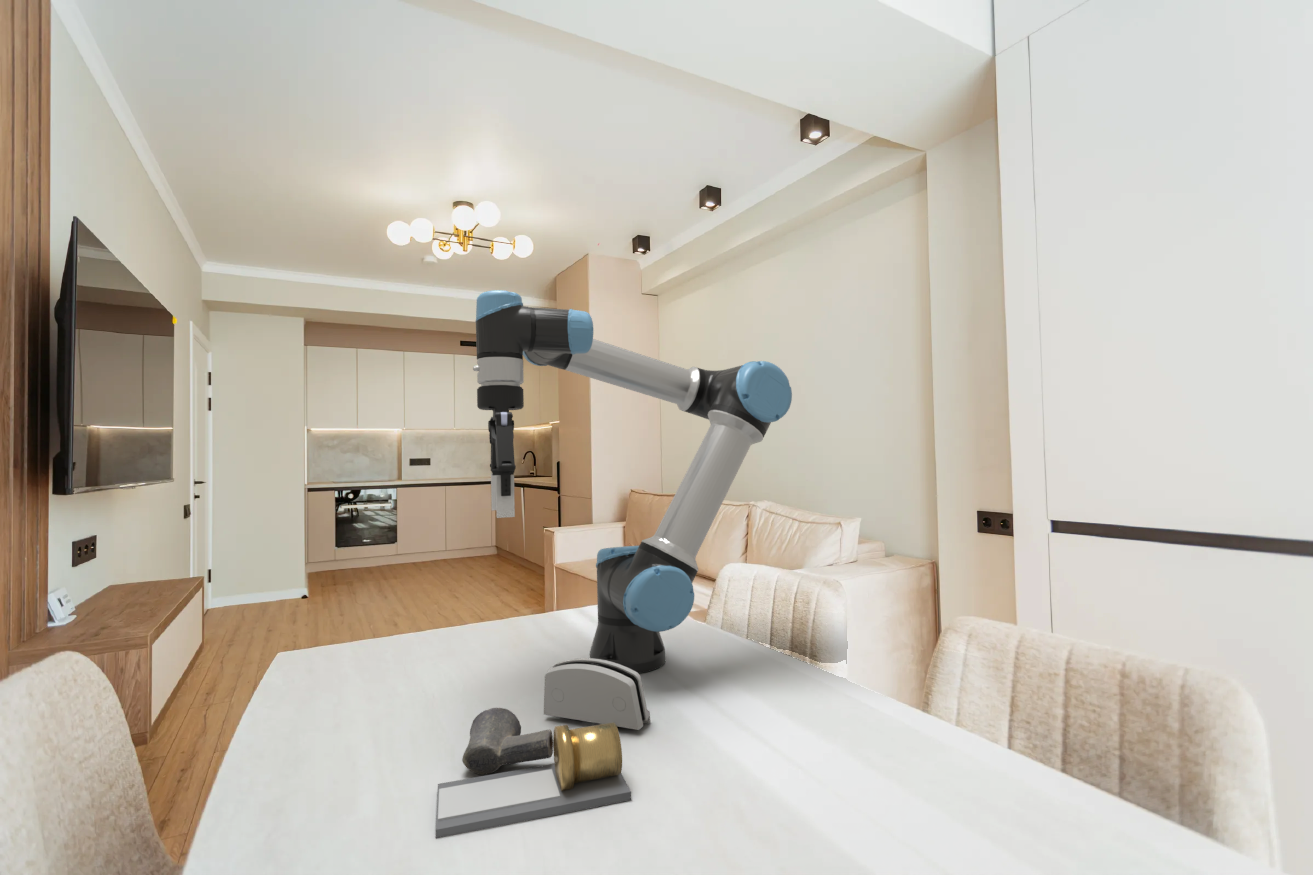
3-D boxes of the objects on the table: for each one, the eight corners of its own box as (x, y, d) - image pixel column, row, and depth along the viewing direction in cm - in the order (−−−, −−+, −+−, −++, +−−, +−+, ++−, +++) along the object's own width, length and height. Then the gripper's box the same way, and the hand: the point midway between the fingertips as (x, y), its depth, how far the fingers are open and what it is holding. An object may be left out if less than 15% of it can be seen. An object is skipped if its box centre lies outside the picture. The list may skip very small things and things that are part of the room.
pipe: (544, 735, 80) (556, 700, 87) (446, 745, 80) (467, 709, 88) (551, 778, 80) (562, 740, 88) (454, 788, 81) (474, 749, 89)
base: (611, 760, 84) (611, 751, 84) (631, 799, 75) (631, 789, 75) (437, 791, 77) (437, 782, 77) (435, 838, 68) (435, 827, 68)
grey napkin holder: (653, 723, 96) (648, 660, 95) (640, 739, 91) (636, 674, 91) (558, 708, 102) (553, 649, 101) (542, 723, 98) (537, 661, 97)
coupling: (610, 763, 83) (608, 708, 83) (624, 791, 76) (622, 731, 76) (553, 773, 80) (552, 716, 81) (563, 803, 74) (562, 741, 74)
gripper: (474, 392, 115) (476, 508, 115) (480, 376, 91) (482, 522, 91) (516, 393, 117) (518, 506, 117) (532, 377, 94) (534, 519, 93)
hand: (502, 513), depth 104 cm, fingers open, 13 cm apart
